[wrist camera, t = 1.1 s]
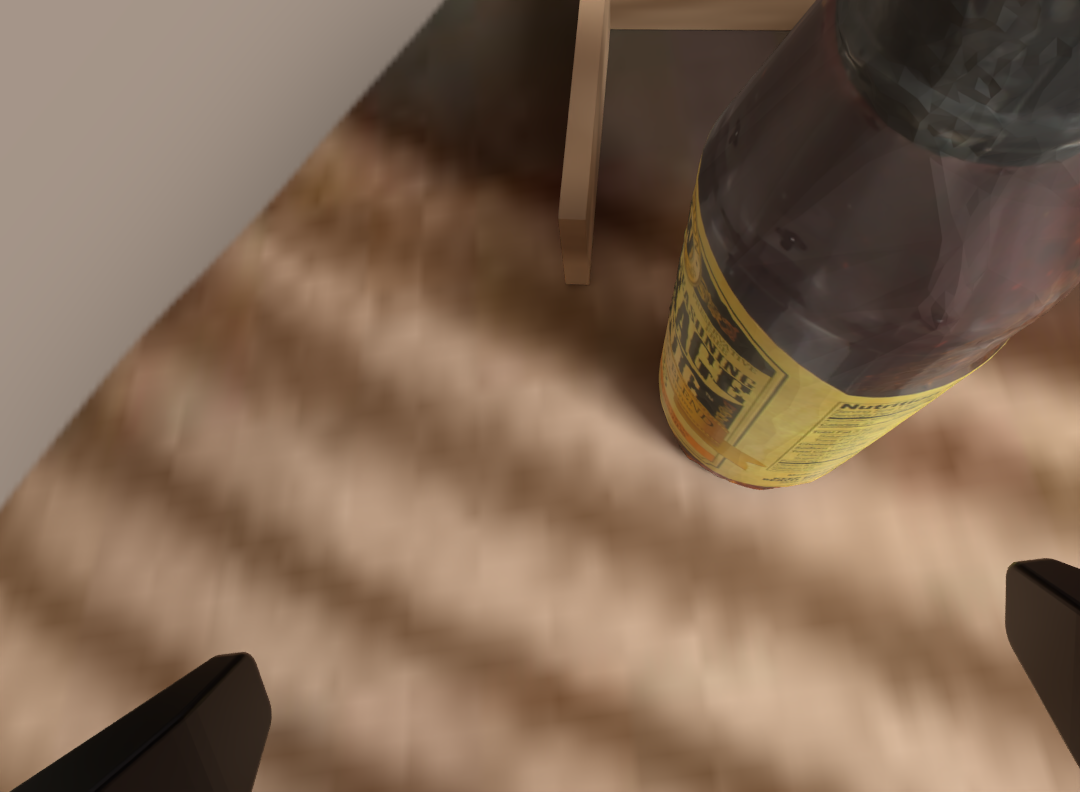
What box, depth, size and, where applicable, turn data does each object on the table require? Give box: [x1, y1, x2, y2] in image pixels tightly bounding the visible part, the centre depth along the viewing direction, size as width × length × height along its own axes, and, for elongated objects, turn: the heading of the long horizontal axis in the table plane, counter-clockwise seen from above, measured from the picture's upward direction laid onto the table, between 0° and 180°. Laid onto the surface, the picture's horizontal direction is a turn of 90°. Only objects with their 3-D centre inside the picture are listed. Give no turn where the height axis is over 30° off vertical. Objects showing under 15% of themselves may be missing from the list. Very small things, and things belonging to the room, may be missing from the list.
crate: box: [558, 0, 816, 285], centre depth 25 cm, size 12×13×4 cm
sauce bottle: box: [659, 0, 1080, 490], centre depth 14 cm, size 7×6×20 cm
